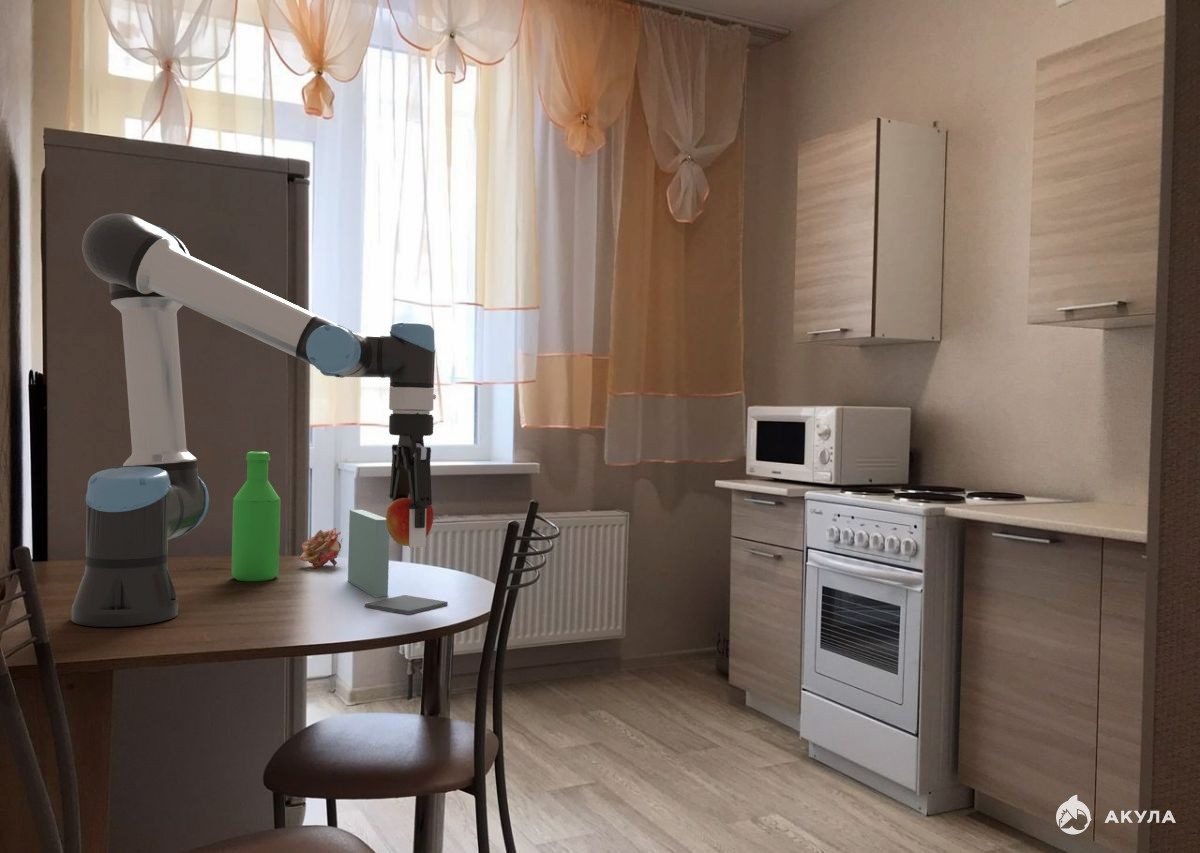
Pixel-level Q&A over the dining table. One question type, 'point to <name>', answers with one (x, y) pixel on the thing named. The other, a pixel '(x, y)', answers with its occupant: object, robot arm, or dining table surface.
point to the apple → (403, 520)
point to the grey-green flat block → (368, 552)
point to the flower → (321, 548)
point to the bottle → (256, 524)
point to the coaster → (406, 604)
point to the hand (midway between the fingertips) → (409, 543)
